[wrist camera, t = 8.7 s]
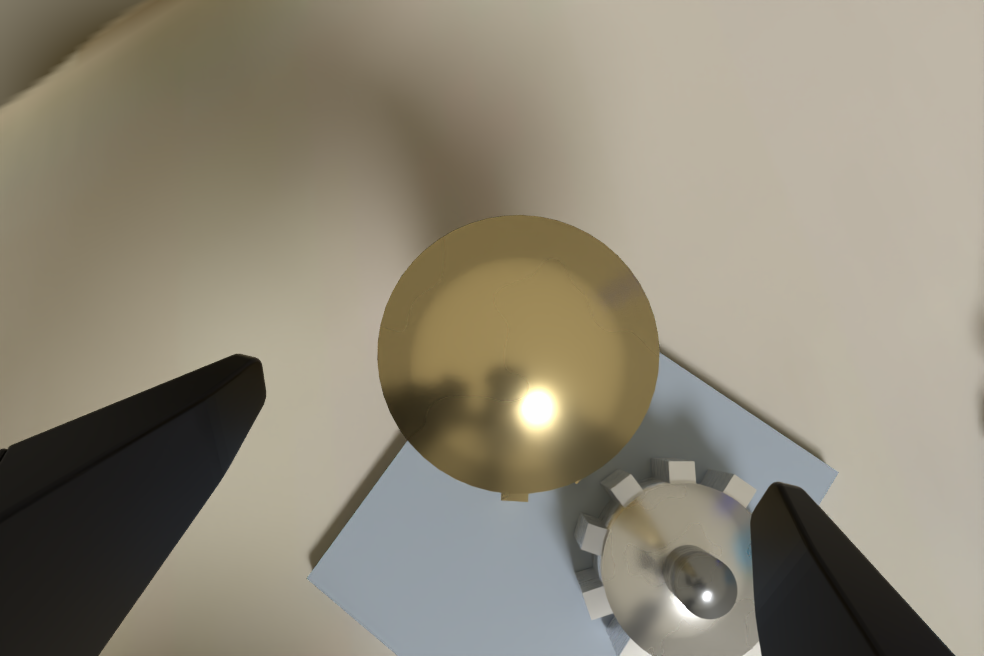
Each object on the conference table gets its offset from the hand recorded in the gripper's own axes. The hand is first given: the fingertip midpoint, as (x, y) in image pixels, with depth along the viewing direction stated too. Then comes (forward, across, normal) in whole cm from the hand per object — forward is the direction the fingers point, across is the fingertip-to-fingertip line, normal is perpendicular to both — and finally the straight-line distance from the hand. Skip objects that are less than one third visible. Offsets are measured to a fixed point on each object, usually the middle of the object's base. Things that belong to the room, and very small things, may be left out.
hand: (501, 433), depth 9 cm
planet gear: (+8, 0, +6) cm, 10 cm away
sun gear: (+6, -6, +9) cm, 12 cm away
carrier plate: (+6, -3, +10) cm, 12 cm away
